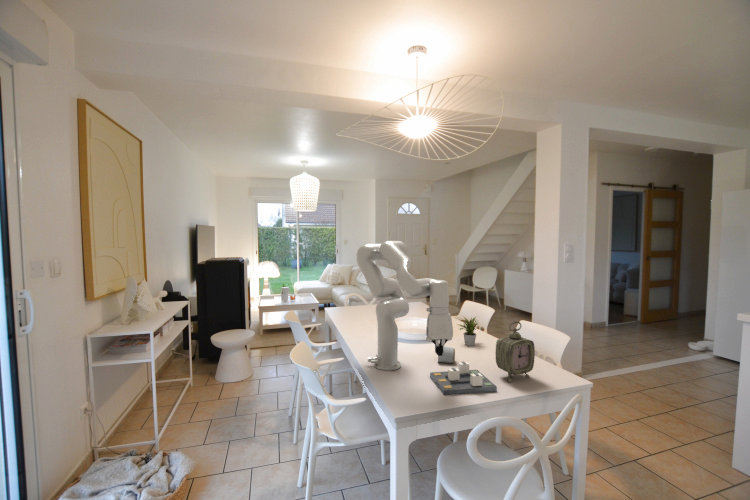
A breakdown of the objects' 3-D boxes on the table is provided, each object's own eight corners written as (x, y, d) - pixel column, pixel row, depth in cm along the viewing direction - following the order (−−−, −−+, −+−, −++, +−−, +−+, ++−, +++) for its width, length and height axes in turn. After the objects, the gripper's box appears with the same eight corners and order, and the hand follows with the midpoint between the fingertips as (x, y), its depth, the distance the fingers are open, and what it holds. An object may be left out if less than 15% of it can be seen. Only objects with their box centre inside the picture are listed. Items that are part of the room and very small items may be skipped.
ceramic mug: (455, 365, 159) (455, 349, 159) (437, 364, 160) (438, 348, 160) (454, 357, 169) (454, 342, 169) (437, 356, 171) (438, 341, 170)
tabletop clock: (508, 385, 138) (510, 325, 137) (493, 376, 146) (494, 320, 145) (534, 379, 144) (535, 322, 143) (517, 371, 152) (518, 317, 151)
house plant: (462, 338, 201) (462, 311, 200) (485, 342, 192) (486, 315, 192) (453, 344, 189) (453, 316, 188) (477, 349, 181) (477, 320, 180)
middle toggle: (450, 380, 137) (450, 370, 136) (448, 378, 139) (448, 368, 139) (459, 380, 137) (459, 369, 137) (457, 377, 140) (457, 367, 139)
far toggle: (460, 373, 144) (460, 363, 143) (458, 371, 146) (458, 361, 146) (469, 373, 144) (469, 363, 144) (466, 370, 147) (466, 361, 147)
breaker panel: (444, 395, 129) (444, 388, 129) (429, 377, 145) (430, 371, 145) (496, 391, 132) (496, 385, 132) (477, 374, 149) (477, 368, 149)
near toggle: (472, 386, 132) (473, 375, 132) (470, 383, 134) (470, 372, 134) (482, 385, 132) (482, 374, 132) (479, 382, 135) (479, 372, 135)
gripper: (424, 313, 131) (424, 359, 131) (460, 311, 133) (460, 356, 134) (418, 309, 138) (419, 352, 139) (452, 307, 141) (452, 350, 141)
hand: (439, 354), depth 136 cm, fingers closed
